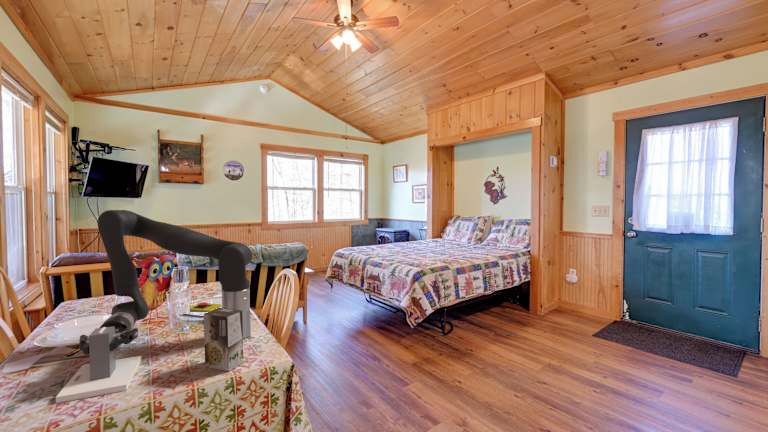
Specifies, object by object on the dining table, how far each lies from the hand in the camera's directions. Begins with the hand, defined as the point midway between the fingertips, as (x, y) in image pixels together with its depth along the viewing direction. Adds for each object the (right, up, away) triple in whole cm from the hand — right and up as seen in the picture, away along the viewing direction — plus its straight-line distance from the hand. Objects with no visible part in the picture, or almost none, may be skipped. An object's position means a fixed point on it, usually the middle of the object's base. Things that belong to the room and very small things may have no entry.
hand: (99, 349), depth 92 cm
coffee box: (+28, -9, +12) cm, 32 cm away
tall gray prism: (-1, -8, +3) cm, 8 cm away
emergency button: (-2, -7, +58) cm, 59 cm away
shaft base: (-1, -9, +3) cm, 10 cm away
